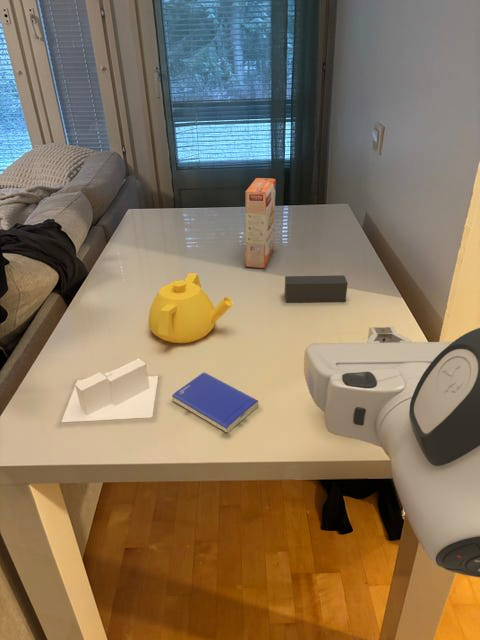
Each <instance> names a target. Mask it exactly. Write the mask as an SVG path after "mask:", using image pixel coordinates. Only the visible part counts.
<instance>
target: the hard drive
mask: <svg viewBox="0 0 480 640" xmlns="http://www.w3.org/2000/svg"><path fill="white" fill-rule="evenodd" d="M171 400H172V401H173V402H174V403H176V404H178V405H179V406H181V407H183V408H185V409H186V410H187V411H190V412H191V413H193V414H194V415H196V416H198V417H200V418H201V419H203V420H204V421H206V422H207V423H210V424H212V425H213V426H214V427H216V428H219V430H222V431H223V432H225V433H227V434H228V433H229V432H231V431H232V430H233V429H234V428H235V427H236V426H237V425H239V424H240V423H241V422H242V421H243V420H244V419H246V418H247V417H248V416H249V415H250V414H251V413H252V412H254V411H255V410H256V409H257V408H258V407H259V400H258V399H256V398H254V397H252V396H250V395H249V394H247V393H244V392H242V391H241V390H239V389H237V388H235V387H233V386H231V385H229V384H227V383H226V382H224V381H222V380H220V379H219V378H218V379H217V378H216V377H214V376H212V375H210V374H208V373H207V372H202V373H200V374H199V375H198V376H196V377H195V378H194V379H192V380H191V381H189V382H188V383H186V384H185V385H183V386H182V387H180V388H179V389H177V391H175V392H174V393H173V394H172V395H171Z"/></svg>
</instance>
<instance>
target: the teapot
mask: <svg viewBox="0 0 480 640" xmlns="http://www.w3.org/2000/svg"><path fill="white" fill-rule="evenodd" d="M155 295H156V296H155V297H154V299H153V301H152V302H151V305H150V307H149V313H148V327H149V329H150V331H151V332H152V333H153V334H154V335H155V336H156V337H158V338H159V339H161V340H163V341H165V342H166V343H167V342H168V343H172V344H188V343H193V342H197V341H199V340H201V339H203V338H204V337H206V336H207V335H208V334H209V333H210V332H211V331H212V329H214V327H215V325H216V323H217V321H218V320H219V319H220V318H222V316H223V315H224V314H225V313H226V312H227V311H228V310H229V309H231V308H232V307H233V306H234V303H233V300H232V299H231V298H229V297H226V296H225V297H223V298H222V299H221V300H220V302H218V303H217V305H216V306H214V305H213V302H212V300H211V298H209V296H208V295H207V293H206V292H205V291H204V290H203V289H202V286H201V282H200V278H199V273H194V272H189V273H188V275H187V276H186V277H185V279H184V280H183V279H180V280H177V279H176V280H174V281H173V282H170V283H167V284H165V285H163V286H162V287H161V288H160V289H159V290H158V292H157V293H156V294H155Z"/></svg>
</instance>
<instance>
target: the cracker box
mask: <svg viewBox="0 0 480 640" xmlns="http://www.w3.org/2000/svg"><path fill="white" fill-rule="evenodd" d="M276 183H277V179H276V178H270V177H269V178H267V177H265V178H264V177H255V179H254V180H253V181H252V183H251V184H250V185H249V186H248V188H247V189H246V190H245V197H244V198H245V203H244V205H245V208H244V209H245V214H244V215H245V217H244V219H245V221H244V222H245V223H244V224H245V229H244V230H245V234H244V235H245V238H244V240H245V242H244V244H245V245H244V246H245V247H244V248H245V249H244V250H245V251H244V252H245V253H244V254H245V255H244V256H245V257H244V259H245V260H244V261H245V262H244V263H245V268H252V269H253V268H254V269H266V267H267V265H268V263H269V260H270V258H271V256H272V253H273V251H274V237H275V214H276V213H275V211H276V210H275V209H276V186H277V185H276Z"/></svg>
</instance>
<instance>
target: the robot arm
mask: <svg viewBox="0 0 480 640" xmlns="http://www.w3.org/2000/svg"><path fill="white" fill-rule="evenodd" d="M303 374H304V379H305V383H306V386H307V389H308V391H309V394H310V396H311V399H312V401H313V402H314V404H315V406H316V407H318V409H320V410H321V411H323V412H324V424H325V429H326V430H327V431H328V432H329V433H331V434H332V435H335V436H340V437H345V438H346V437H347V438H348V439H349V438H350V439H354V440H358V441H362V442H366V443H369V444H372V445H374V446H376V447H379V448H382V450H383V451H384V453H385V455H386V456H387V457H388V458H389V460H390V464H391V467H390V468H391V470H390V472H391V478H392V481H393V484H394V487H395V490H396V492H397V496H398V499H399V501H400V504H401V507H402V509H403V511H404V514H405V517H406V519H407V521H408V523H409V525H410V528H411V529H412V531H413V533H414V535H415V537H416V540H417V542H418V543H419V544H420V546H421V548H422V549H423V551H424V552H425V554H427V556H428V557H429V558H430V559H431V561H432V562H433V563H434V564H436V565H437V567H440V568H442V569H444V570H446V571H448V572H452V573H454V574H455V573H456V574H460V575H463V576H468V577H474V578H480V327H477V328H475V329H472V330H470V331H468V332H466V333H464V334H462V335H461V336H459V337H458V338H456V339H455V340H454V341H412V340H411V339H409V338H408V337H406V336H404V335H402V334H400V333H398V332H397V330H396V328H395V327H394V326H389V327H387V326H386V327H385V326H384V327H377V326H376V327H372V326H371V327H369V328H368V334H367V340H366V342H336V343H335V342H334V343H331V342H330V343H329V342H327V343H326V342H325V343H324V342H323V343H321V342H319V343H316V342H315V343H314V342H313V343H310V344H309V345H308V346H307V347H306V348H305V349H304V354H303Z"/></svg>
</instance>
